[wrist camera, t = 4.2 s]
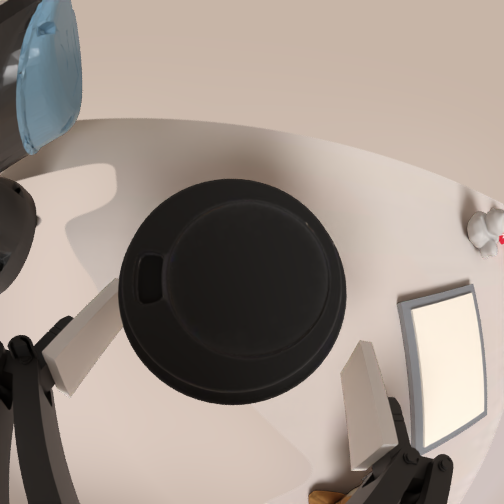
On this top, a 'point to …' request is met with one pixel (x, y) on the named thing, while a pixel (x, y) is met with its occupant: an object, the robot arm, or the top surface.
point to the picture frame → (443, 365)
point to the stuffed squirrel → (330, 497)
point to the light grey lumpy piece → (486, 231)
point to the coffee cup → (232, 292)
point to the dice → (501, 238)
